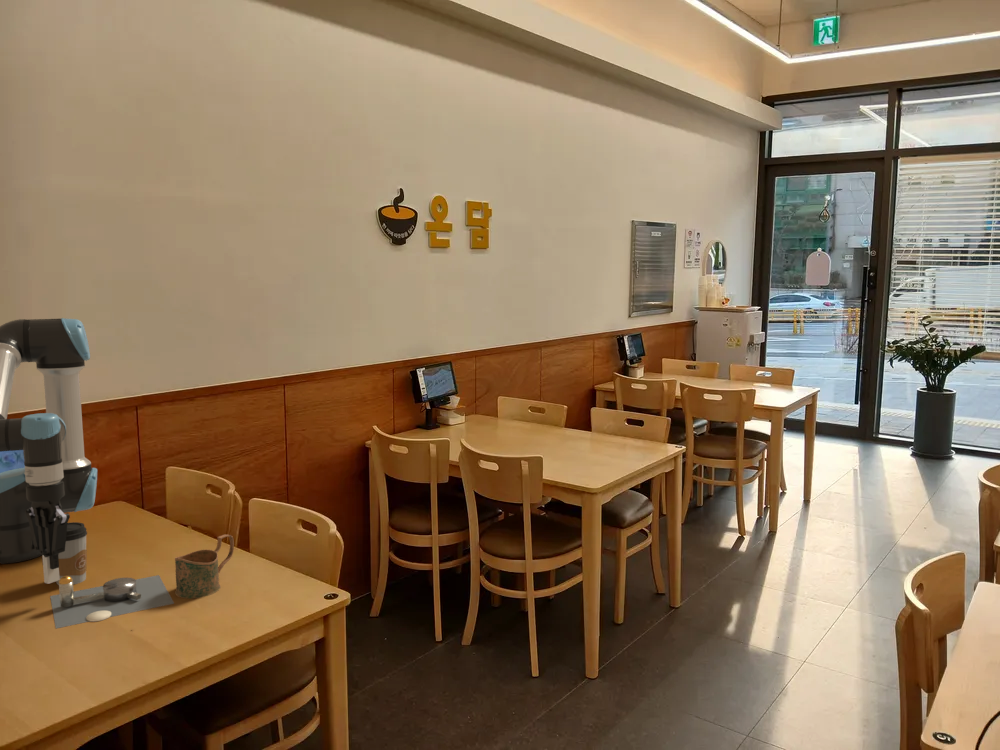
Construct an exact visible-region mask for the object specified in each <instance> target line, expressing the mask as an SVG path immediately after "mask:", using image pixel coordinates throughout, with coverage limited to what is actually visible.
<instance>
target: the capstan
mask: <svg viewBox="0 0 1000 750" xmlns="http://www.w3.org/2000/svg"><path fill="white" fill-rule="evenodd" d="M102 586H103V592H101V593H96V594H91V595H86V596H80V597H75V598H74V591H75V590H74V585H73V579H72V578H71V577H70V576H63V577H61V578H60V580H59V585H58V593H59V594H60V606H61V607H68V606H72V605H73V604H78V603H83V602H88V601H93V600H98V599H103V598H104V600H106V601H110V602H117V601H123V600H127V599H130V598H131V599H134V600H138V599H140V598H141V594H138V593H137V591H136V579H135V578H133V577H118V578H114V579H110V580H108V581H106V582H105V583H103V585H102Z"/></svg>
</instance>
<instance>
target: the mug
mask: <svg viewBox="0 0 1000 750" xmlns="http://www.w3.org/2000/svg"><path fill="white" fill-rule="evenodd" d="M227 537H228V538H229V552H228V554H227V557H226V558H224V560H223V561H221V563H220V564H219V561H218V560H219V555H218V553H219V551H220V550H221V547H222V539H224V538H227ZM234 549H235V541H234V536H233V535H231V534H222V535H219V536H217V544H216V547H215V549H214V550H212V549H199V550H195V551H192V552H190V553H187V554H184V555H180V556H176V557H174V563H175V585H176V590H175V592H174V593H175V595H176V597H179V598H182V599H199V598H205V597H208V596H210V595H213V594H216V593H218V592H219V591H220V589H221V587H222V586H221V584H220V577H219V576H220V575H219V574H220V572H221V570H222V569H223V568H224V566H225V565H226V564H227V563H228V562H229V561H230V559H231V558H232V557H233V554H234Z"/></svg>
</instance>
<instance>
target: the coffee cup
mask: <svg viewBox="0 0 1000 750" xmlns="http://www.w3.org/2000/svg"><path fill="white" fill-rule="evenodd" d="M87 535H88V531H87V528H86V527H85V524H84V523H82V522H68V523H67V533H66V544H65V551H64V552H61V553H59V555H58V557H59V577H60V578H61V577H63V576H70V577H71V578H72V579H73V586H74V585H78V584H80V583H83V582H84V581H86V580H87V552H88V551H87ZM55 582H56V585H58V586H59V580H58V581H55Z"/></svg>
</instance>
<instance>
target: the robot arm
mask: <svg viewBox="0 0 1000 750" xmlns="http://www.w3.org/2000/svg"><path fill="white" fill-rule="evenodd" d="M90 359H91V353H90V345H89V340H88V337H87V332H86V328H85V325H84V323H83V321H81V320H79V319H78V318H63V317H62V318H39V319H38V318H35V319H30V318H29V319H28V318H27V319H25V318H24V319H23V318H19V319H14V320H11V321H8V322H5V323H3V324H2V325H0V452H13V451H14V452H15V451H23V463H24V467H20V468H14V469H9V470H5V471H2V472H0V563H1V564H13V563H19V562H25V561H29V560H33V559H36V558H38V557H41V560H42V566H43V567H42V568H43V569H42V570H43V581H44V584H52V583H55V582H56V581H58V580H60V577H59V557H58V555H59V553H61V552H64V551H65V544H66V533H67V523H69V521H70V518H71V517H70V516H71V515H70V513H73V512H74V513H76V512H81V511H86V510H90V509H92V508H93V507H94V505H95V500H96V493H97V483H98V468H96V467H92V462H91V460H89V459H88V458H87V457H85V456H86V455H85V443H84V430H83V429H84V427H83V416H82V415H83V414H82V413H83V412H82V400H81V399H82V398H81V385H80V383H81V381H80V372H81V371H82V370H83V369H84V368H86V367H85V366H86V365H85V361H86V362H87V361H89V360H90ZM22 363H36V364H35V365H36V370H37V371H38V372H40V373H41V374H42V375H43V384H44V385H43V386H44V399H45V412H44V413H43V412H42V413H41V412H40V413H39V412H38V413H34V414H27V415H25V416H23V417H20V418H19V417H18V418H8V413H9V407H10V401H11V396H12V390H13V383H14V379H15V373H16V370H17V369H18V368H19V367H20V365H21V364H22ZM1 564H0V565H1Z"/></svg>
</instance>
